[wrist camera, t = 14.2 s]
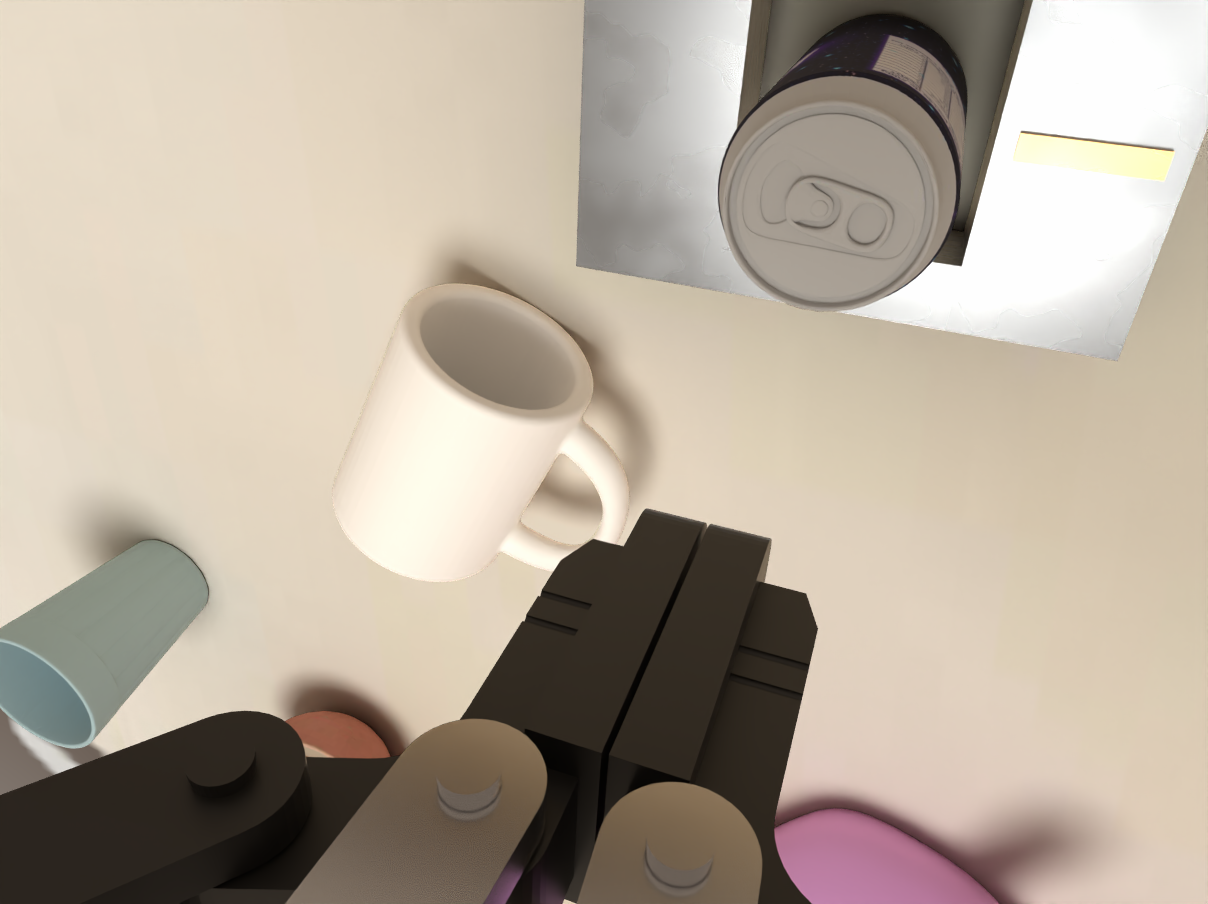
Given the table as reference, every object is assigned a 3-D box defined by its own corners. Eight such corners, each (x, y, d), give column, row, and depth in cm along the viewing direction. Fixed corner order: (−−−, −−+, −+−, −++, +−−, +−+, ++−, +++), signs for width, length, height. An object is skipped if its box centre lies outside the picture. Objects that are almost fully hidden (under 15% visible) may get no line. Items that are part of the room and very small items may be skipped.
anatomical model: (281, 667, 59) (229, 726, 55) (419, 697, 56) (376, 761, 52) (357, 893, 70) (319, 955, 66) (476, 928, 67) (444, 996, 63)
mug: (390, 421, 45) (293, 512, 39) (461, 256, 39) (359, 332, 33) (599, 556, 45) (536, 669, 39) (702, 411, 39) (647, 518, 33)
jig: (1254, -87, 25) (1290, -81, 22) (1105, 317, 32) (1118, 363, 29) (625, -126, 30) (586, -126, 27) (607, 235, 36) (574, 268, 33)
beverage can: (825, -13, 30) (748, 46, 20) (999, 42, 29) (1007, 130, 19) (767, 159, 33) (677, 280, 23) (922, 213, 32) (895, 361, 23)
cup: (195, 526, 54) (50, 646, 46) (243, 628, 58) (117, 758, 49) (100, 520, 57) (-53, 633, 49) (151, 618, 61) (17, 739, 52)
